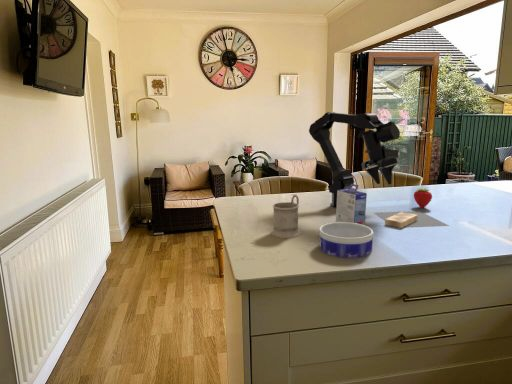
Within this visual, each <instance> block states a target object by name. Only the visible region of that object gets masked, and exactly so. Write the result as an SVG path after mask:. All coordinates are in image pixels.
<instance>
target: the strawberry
mask: <svg viewBox="0 0 512 384" xmlns="http://www.w3.org/2000/svg"><path fill="white" fill-rule="evenodd" d="M413 198H414V199H413V200H414V201H415V202H416V204H417V205H418V207H419V208H421V209H424V208H425V207H427V206H428V205H429V203H430V202H431V201H432V199H433V195H432V193H431V192H430V189H428V188H423V186H421V188H418V189H415V192H414V193H413Z"/></svg>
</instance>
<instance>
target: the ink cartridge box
mask: <svg viewBox="0 0 512 384" xmlns="http://www.w3.org/2000/svg"><path fill="white" fill-rule="evenodd" d="M352 186H353V187H352ZM359 186H360V185H359V184H355V183H354V184H351V186H350V188H349V189H342V190H337V208H335V210H336V211H335V222H349V223H357V224H361V225H365V224H366V210H367V208H366V207H367V197H368V196H367V195H368V194H367V193H366V192H363V191H358V188H359ZM351 187H352V188H351ZM354 187H355V188H354ZM365 226H366V225H365Z"/></svg>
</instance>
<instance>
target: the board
mask: <svg viewBox="0 0 512 384" xmlns="http://www.w3.org/2000/svg"><path fill="white" fill-rule="evenodd" d="M399 212H400V213H398V214H396V215H394V216H391V217H389V218H387V219H385V220H384V225H385V226H389V227H394V228H395V227H399V228H398V229H403V227H405V226H407V225H409V224H411V223H413V222H415V221H417V219H418V215H416V214H410V213H404V212H405V211H399Z"/></svg>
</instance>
